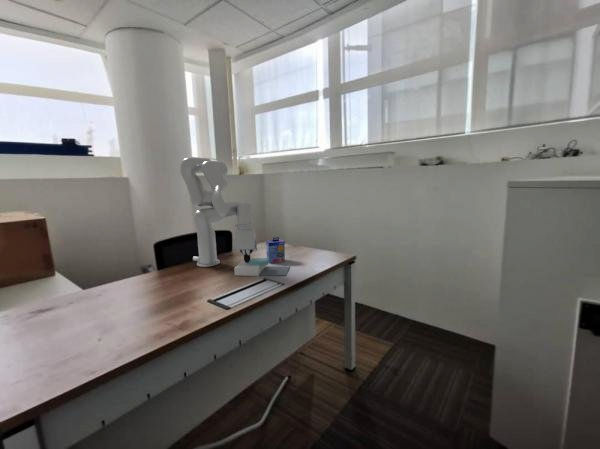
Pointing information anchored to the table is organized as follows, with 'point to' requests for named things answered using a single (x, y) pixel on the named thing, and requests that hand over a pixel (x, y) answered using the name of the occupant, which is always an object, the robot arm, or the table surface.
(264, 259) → the teal tile
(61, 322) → the table surface
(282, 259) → the ink cartridge box
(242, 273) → the grey flat block
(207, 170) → the robot arm
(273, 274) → the mat
